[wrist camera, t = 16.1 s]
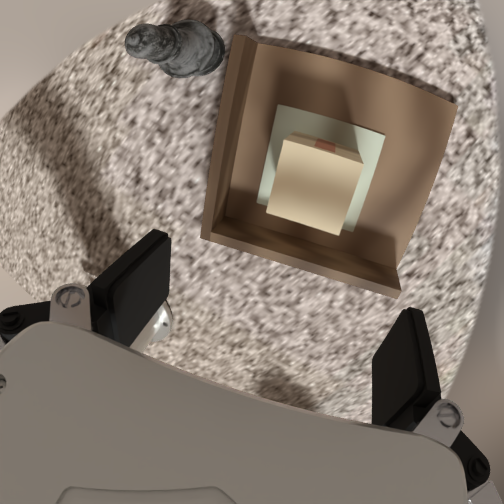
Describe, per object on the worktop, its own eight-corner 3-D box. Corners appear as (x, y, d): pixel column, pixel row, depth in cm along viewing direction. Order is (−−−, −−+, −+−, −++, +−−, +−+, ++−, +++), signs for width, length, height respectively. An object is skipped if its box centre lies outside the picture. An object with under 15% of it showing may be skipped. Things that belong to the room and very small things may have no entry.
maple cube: (294, 130, 26) (284, 138, 21) (358, 149, 25) (364, 163, 20) (279, 190, 29) (265, 213, 24) (339, 209, 29) (338, 236, 24)
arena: (218, 218, 34) (200, 238, 30) (250, 43, 24) (233, 34, 20) (391, 271, 31) (397, 299, 27) (454, 105, 21) (475, 108, 17)
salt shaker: (213, 86, 27) (144, 88, 17) (166, 69, 27) (86, 68, 17) (237, 35, 24) (177, 7, 14) (187, 20, 24) (112, -4, 14)
